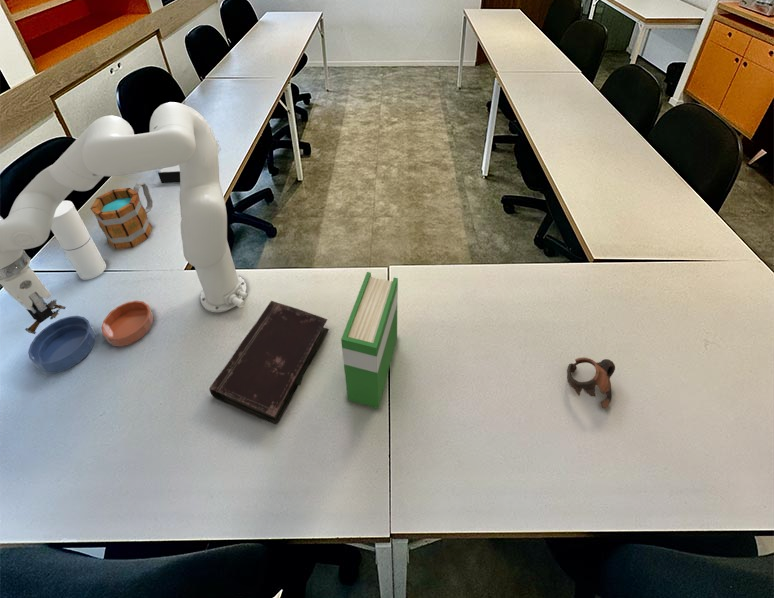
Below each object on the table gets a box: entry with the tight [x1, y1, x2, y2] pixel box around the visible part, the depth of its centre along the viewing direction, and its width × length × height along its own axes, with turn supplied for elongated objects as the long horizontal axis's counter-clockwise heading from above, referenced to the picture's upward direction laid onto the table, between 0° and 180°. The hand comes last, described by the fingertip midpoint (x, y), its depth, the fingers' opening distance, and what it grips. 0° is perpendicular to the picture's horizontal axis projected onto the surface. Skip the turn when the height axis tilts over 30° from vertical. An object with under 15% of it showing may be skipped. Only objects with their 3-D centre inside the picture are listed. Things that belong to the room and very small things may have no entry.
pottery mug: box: [566, 357, 616, 409], centre depth 100 cm, size 12×10×8 cm
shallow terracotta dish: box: [100, 300, 155, 347], centre depth 114 cm, size 11×11×3 cm
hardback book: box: [340, 271, 399, 409], centre depth 98 cm, size 18×7×24 cm, turn 165°
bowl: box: [27, 315, 97, 374], centre depth 108 cm, size 13×13×4 cm
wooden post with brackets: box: [24, 299, 67, 335], centre depth 102 cm, size 2×8×4 cm, turn 151°
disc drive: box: [157, 140, 221, 184], centre depth 175 cm, size 18×22×5 cm
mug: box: [89, 181, 153, 250], centre depth 141 cm, size 20×14×15 cm
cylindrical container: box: [50, 200, 107, 281], centre depth 124 cm, size 7×7×25 cm
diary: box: [209, 300, 330, 425], centre depth 104 cm, size 19×25×5 cm
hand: (43, 316), depth 102 cm, fingers closed on wooden post with brackets, 1 cm apart
